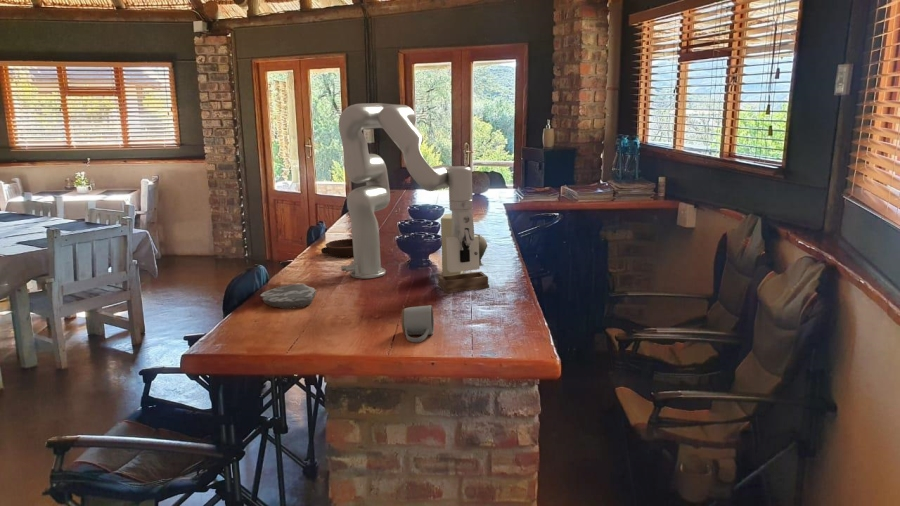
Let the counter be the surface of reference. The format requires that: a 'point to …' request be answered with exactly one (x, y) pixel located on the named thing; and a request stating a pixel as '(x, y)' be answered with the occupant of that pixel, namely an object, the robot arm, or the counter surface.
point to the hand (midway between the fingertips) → (463, 259)
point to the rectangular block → (454, 255)
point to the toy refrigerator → (445, 232)
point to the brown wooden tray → (463, 282)
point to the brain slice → (289, 296)
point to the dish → (339, 248)
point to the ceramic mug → (417, 322)
